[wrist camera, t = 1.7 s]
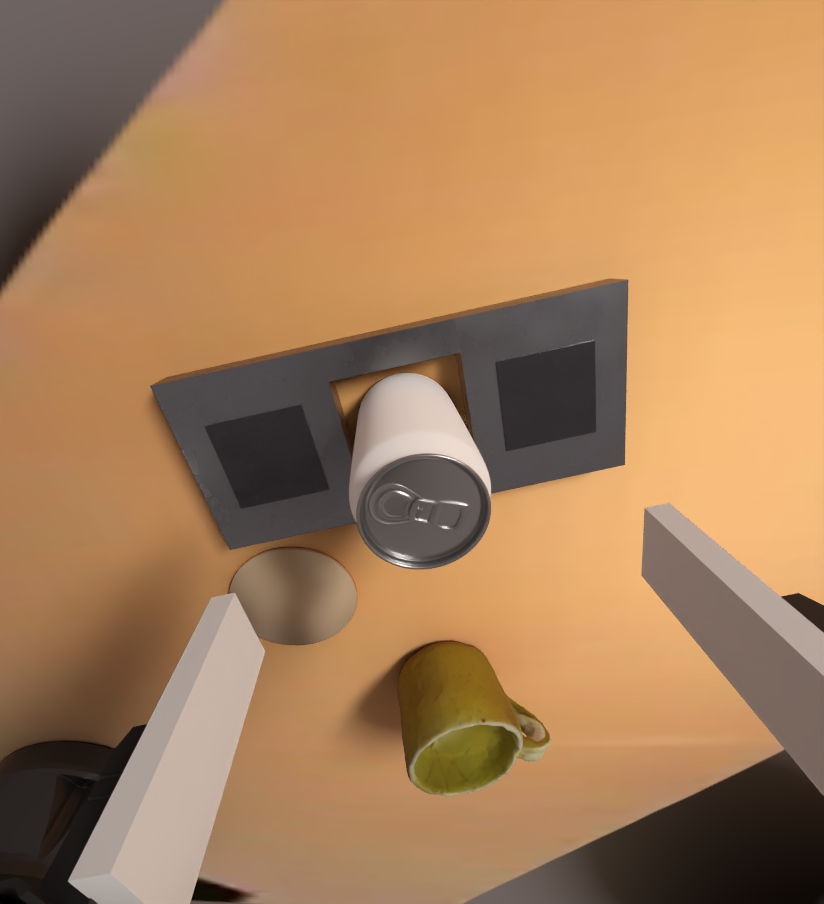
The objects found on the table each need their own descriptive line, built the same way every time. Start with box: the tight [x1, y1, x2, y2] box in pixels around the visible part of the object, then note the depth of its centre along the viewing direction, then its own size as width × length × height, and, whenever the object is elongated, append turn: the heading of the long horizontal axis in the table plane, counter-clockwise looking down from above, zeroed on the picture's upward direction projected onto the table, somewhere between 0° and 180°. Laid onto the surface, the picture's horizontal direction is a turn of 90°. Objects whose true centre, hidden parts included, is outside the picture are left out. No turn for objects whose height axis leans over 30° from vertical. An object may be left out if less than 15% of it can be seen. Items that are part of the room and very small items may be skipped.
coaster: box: [229, 547, 357, 645], centre depth 33 cm, size 10×10×1 cm
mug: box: [398, 641, 550, 796], centre depth 35 cm, size 12×10×10 cm
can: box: [349, 373, 491, 569], centre depth 22 cm, size 6×6×12 cm
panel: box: [150, 279, 628, 550], centre depth 27 cm, size 28×12×2 cm, turn 102°
